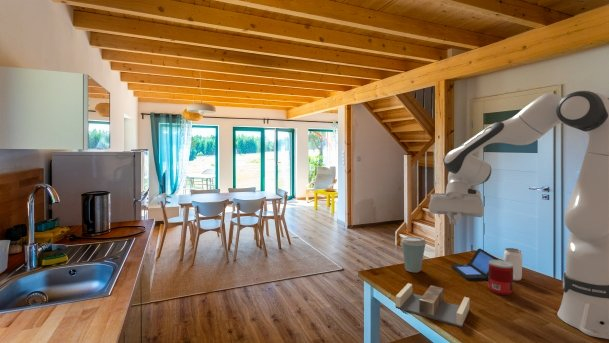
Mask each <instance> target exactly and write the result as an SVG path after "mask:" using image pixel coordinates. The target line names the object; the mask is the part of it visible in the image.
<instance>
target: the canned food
mask: <svg viewBox="0 0 609 343" xmlns="http://www.w3.org/2000/svg"><path fill="white" fill-rule="evenodd" d="M487 281H488V283H487V287H488V289H489V291H490V292H493V293H495V294H498V295H503V296H508V295H511V294H512V293H513V289H514V288H513V286H514V280H513V264H512V263H510V262H507V261H504V259H503V260H502V259H499V260H490V261H489V275H488V280H487Z"/></svg>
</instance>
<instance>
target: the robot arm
mask: <svg viewBox="0 0 609 343" xmlns="http://www.w3.org/2000/svg"><path fill="white" fill-rule="evenodd" d="M560 124H564V125H566V126H568V127H570V128H574V129H576V130H579V131H582V132H587V133H588V144H587V148H586V150H585V154H584V157H583V161H582V164H581V167H580V171H579V174H578V177H577V180H576V183H575V185H574V188H573V189H572V193H571V195H570V198H569V202H568V203H567V208H566V209H565V212H564V217H563V218H564V224H565V226H566V229H567V230H568V231H569V234H568V241H567V246H566V254H565V272H564V273H563V277H562V290H563V295H562V300H561V303H560V306H559V309H558V311H557V317H558V318H559V319H560V320H561V321H563V323H564V322H565V323H566V324H567V325H570V326H571V327H573V328H576V329H578V331H579V330H580V331H581V332H582V333H584V334H585V335H587V336H590V337H594V338H595V337H596V338H601V339H606V340H609V97H607V96H605V95H603V94H601V93H598V92H595V91H590V90H579V91H573V92H570V93H568V94H567V95H565V96H564V97H562V96H560V95H559V94H556V93H550V92H549V93H544V94H542V95H540V96H538V97H537V98H536V99H534V100H533V101H531V102H530V103H528V104H527V105H526V106H524V107H523V108H521V110H519V111H518V112H517V113H516V114H515V115H513V116H512V117H510V118H508V119H506V120H503V121H496V122H494V123H491V124H490V125H488V126H486V127H485V128H484V129H482V130H481V131H479V132H478V133H477V134H475V135H473V136H471V137H470V138H469V139H468V140H467V141H465V142H463V143H462V144H461V145H459V146H457V147H455V148H453V149H451V150H449V151H448V152H447V153H446V155H445V156H444V158H443V165H444V168H445V170H446V172H448V174H447V184H446V188H445V192H444V193H437V192H436V193H432V194H430V197H429V203H428V211H429V213H430V214H435V215H436V214H437V215H447V219H449V220H448V222H449V225H457V226H458V224H459V221H460V220H461V219H462V217H472V218H473V217H474V218H482V217H484V215H485V211H484V210H485V209H484V203H483V199H482V194H481V191H480V190H478V189H475V188H471V187H472V186H473V187H474V186H479V185H481V184H484V183H486V182H487V181H489V179H490V178H491V175H492V167H491V164H490V163H488V162H486V161H484V160H483V159H481V158H478V157H477V156H475V155H474V154H475V153H478V151H480V150H482V149H483V148H484V147H486V146H488V145H490V144H495V143H496V144H498V143H499V144H502V143H503V144H507V145H508V144H509V145H512V146H513V145H515V146H526V145H530V144H533V143H535V142H536V141H538V140H539V139H540V138H543V136H544V135H545V134H546V133H548V132H549V131H550V130H552V129H553V128H555V126H558V125H560ZM452 216H456V218H452Z"/></svg>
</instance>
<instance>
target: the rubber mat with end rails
mask: <svg viewBox="0 0 609 343" xmlns="http://www.w3.org/2000/svg"><path fill="white" fill-rule="evenodd" d="M422 296H423V295H421V294H416V293H413V283H409V282H408V283H406V285H405V286H404V287H403V288H401V290H400V291H398V293H397V294H396V295H395V309H399V310H402V311H404V312H409V313H412V314H415V315H419V316H421V317H426V318H429V319H432V320H435V321H439V322H442V323H445V324H447V325H452V326H455V327H459V328H463V325H464V323H465V321H466V319H467V317H468V314H469V312H470V299H471V298H470V297H466V296H464V297H463V299H462V301H461V303H460V305H457V304H454V303H450V302H447V301H443V300H442V302H441V304H440V305H439V307H438V308H437V310H436V311H435V313H434V315H429V314H426V313H423V312H419V299H421V297H422Z"/></svg>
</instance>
